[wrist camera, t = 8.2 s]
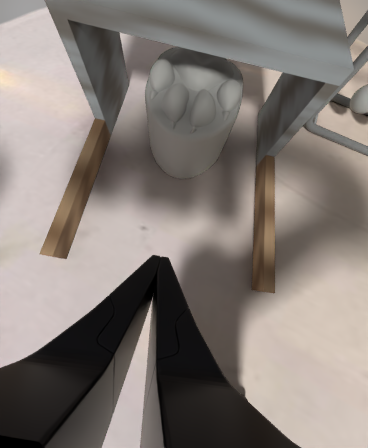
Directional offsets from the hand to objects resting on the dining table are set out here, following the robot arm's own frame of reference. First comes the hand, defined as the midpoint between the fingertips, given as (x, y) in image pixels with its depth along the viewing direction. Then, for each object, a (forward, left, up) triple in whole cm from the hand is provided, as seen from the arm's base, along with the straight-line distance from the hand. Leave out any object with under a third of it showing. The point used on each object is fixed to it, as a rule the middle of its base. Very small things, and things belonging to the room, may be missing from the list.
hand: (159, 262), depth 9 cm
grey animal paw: (+19, 0, -11) cm, 22 cm away
